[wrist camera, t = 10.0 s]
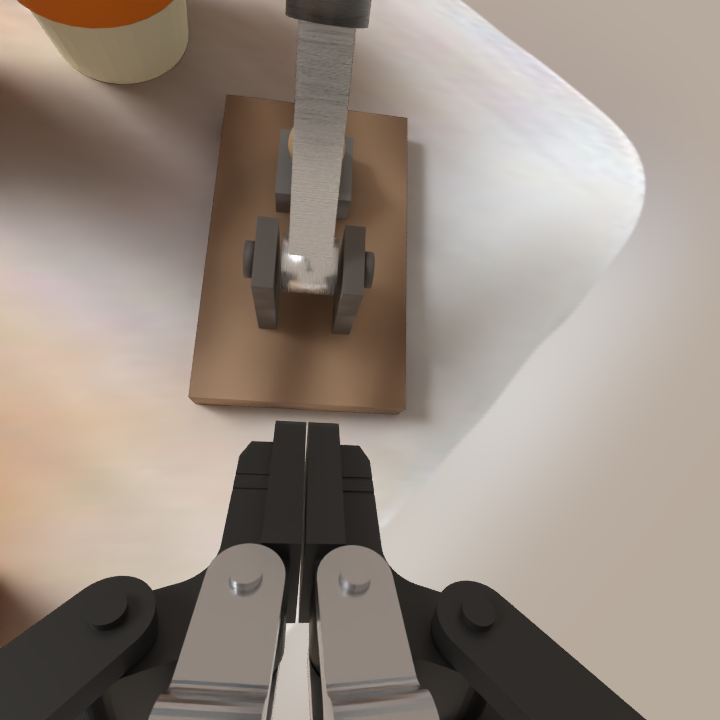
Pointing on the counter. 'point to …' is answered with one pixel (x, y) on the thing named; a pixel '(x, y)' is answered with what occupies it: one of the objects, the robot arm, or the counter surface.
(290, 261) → the lever
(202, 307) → the nutcracker bench
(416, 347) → the counter surface
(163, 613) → the robot arm
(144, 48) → the reusable coffee cup
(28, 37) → the counter surface
